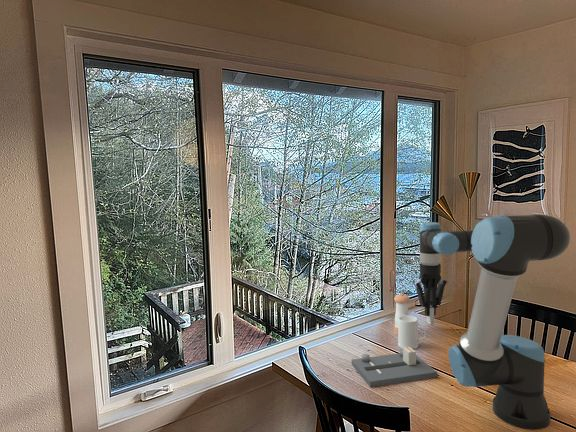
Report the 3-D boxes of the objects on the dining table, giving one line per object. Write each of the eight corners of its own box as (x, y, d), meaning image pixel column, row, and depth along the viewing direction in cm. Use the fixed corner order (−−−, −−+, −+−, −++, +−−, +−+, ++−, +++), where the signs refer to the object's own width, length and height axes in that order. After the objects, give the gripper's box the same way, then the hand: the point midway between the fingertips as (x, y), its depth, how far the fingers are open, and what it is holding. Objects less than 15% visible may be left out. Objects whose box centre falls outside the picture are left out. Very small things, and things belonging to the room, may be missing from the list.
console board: (437, 377, 145) (436, 366, 145) (370, 387, 140) (370, 376, 140) (411, 356, 163) (411, 346, 163) (351, 364, 158) (351, 354, 157)
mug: (428, 345, 173) (428, 318, 172) (422, 352, 166) (422, 324, 165) (402, 339, 180) (401, 314, 179) (394, 346, 173) (394, 319, 172)
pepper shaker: (400, 329, 192) (399, 290, 190) (413, 333, 186) (413, 293, 185) (391, 333, 187) (390, 293, 186) (404, 337, 182) (404, 296, 180)
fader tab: (415, 364, 151) (415, 351, 150) (408, 365, 150) (408, 352, 150) (410, 359, 155) (409, 346, 155) (402, 360, 154) (402, 347, 154)
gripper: (439, 259, 156) (439, 318, 158) (409, 262, 154) (409, 322, 156) (451, 263, 149) (451, 325, 151) (419, 266, 146) (420, 328, 149)
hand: (430, 323), depth 153 cm, fingers closed
